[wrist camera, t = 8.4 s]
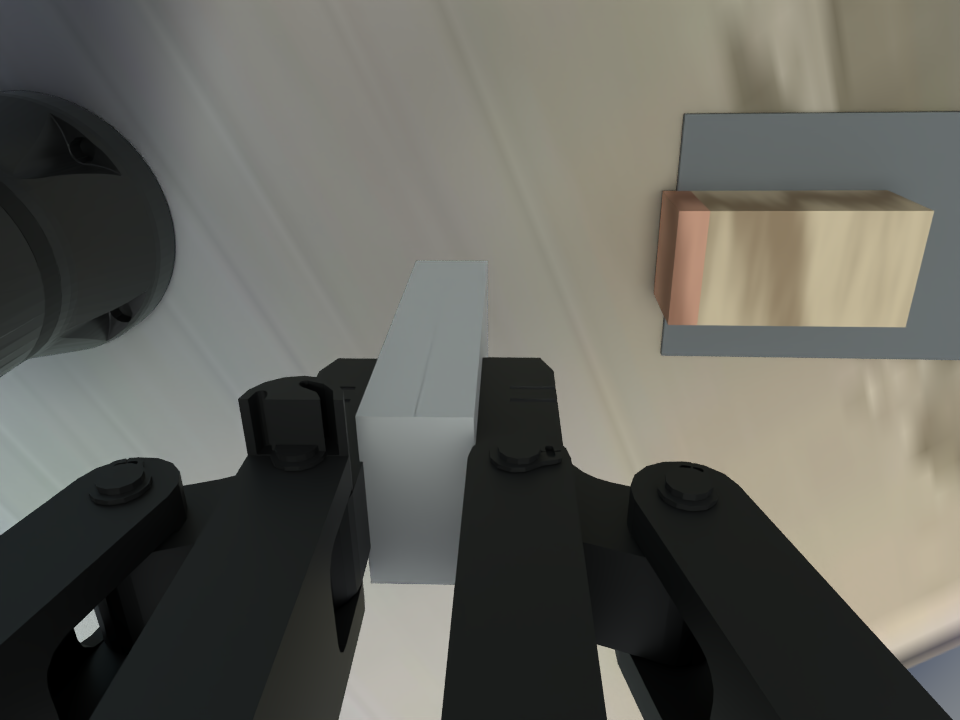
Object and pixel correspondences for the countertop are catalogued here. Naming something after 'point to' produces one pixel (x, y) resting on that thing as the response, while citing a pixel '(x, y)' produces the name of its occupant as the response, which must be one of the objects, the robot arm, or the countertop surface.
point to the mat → (836, 166)
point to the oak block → (789, 257)
